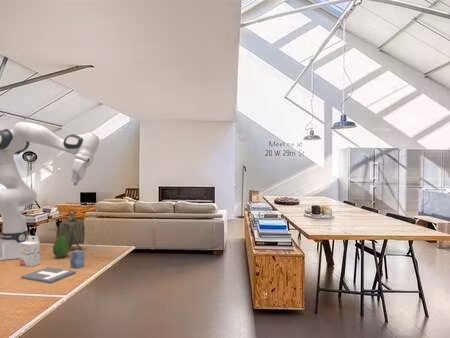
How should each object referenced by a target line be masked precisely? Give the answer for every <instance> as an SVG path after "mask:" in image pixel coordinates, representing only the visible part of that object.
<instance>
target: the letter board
mask: <svg viewBox="0 0 450 338" xmlns="http://www.w3.org/2000/svg"><path fill="white" fill-rule="evenodd" d="M76 272H77V271H76V270H70V269H63V268H57V267H50V266H47V267H44V268H42V269H41V268H40V269H38V270H35V271H32V272H29V273H25V274H24V275H20V279H23V280H30V281H35V282H40V283H47V284H53V283H56V282H58V281H60V280H62V279H66V278H67V277H70V276H73V275H75V274H76Z"/></svg>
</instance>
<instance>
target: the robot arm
mask: <svg viewBox="0 0 450 338" xmlns="http://www.w3.org/2000/svg"><path fill="white" fill-rule="evenodd" d="M100 140H101V139H100V137H98V136H97V135H96V134H95V133H92V132H86V133H83V134H74V133H73V134H69V135H67V136H66V137H65V138H64V139H63V138H61V137H59V135H56V134H55V133H54V132H52V131H51V130H50V129H49V128H47V127H46V126H44V125H41V124H38V123H35V122H34V123H33V122H28V121H19V122H16V123H15V124H14V126H13V128H12V129H10V130H9V129H8V128H5V129H1V130H0V185H2V186H3V187H5V188H3V189H0V216H1V220H2V232H0V261H5V260H7V261H8V260H17V259H20V243H21V242H26V241H28V230H27V218H26V215H24V214H22V213H21V211H20V208H21V207H27V206H29V205H32V204H34V203H35V202H36V201H37V198H38V195H37V192H36V190H35V189H33V188H32V187H30V186H29V185H28V184H27V183H26V182H25V181H24V180H23V178H22V177H21V174H20V172H19V169H18V167H17V164H16V161H15V156H14V155H20V154H21V153H22V152H24V151H26V150H27V149H29V146H30V143H32V144H37V145H41V146H46V147H49V148H54V149H57V150H60V151H62V152H66V153H69V154H72V155H74V159H73V160H74V161H73V164H72V165H71V166H72V167H71V172H72V175H71V178H70V182H71V183H73V184H72V185H73V186H74V187H77V186H78V184H79V183H80V180H81V181H83V179H84V177H85V175H86V172H87V168H88V167H91V166H92V163H93V160H94V158H95V154H96V153H97V151H98V149H99V145H100Z"/></svg>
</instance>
